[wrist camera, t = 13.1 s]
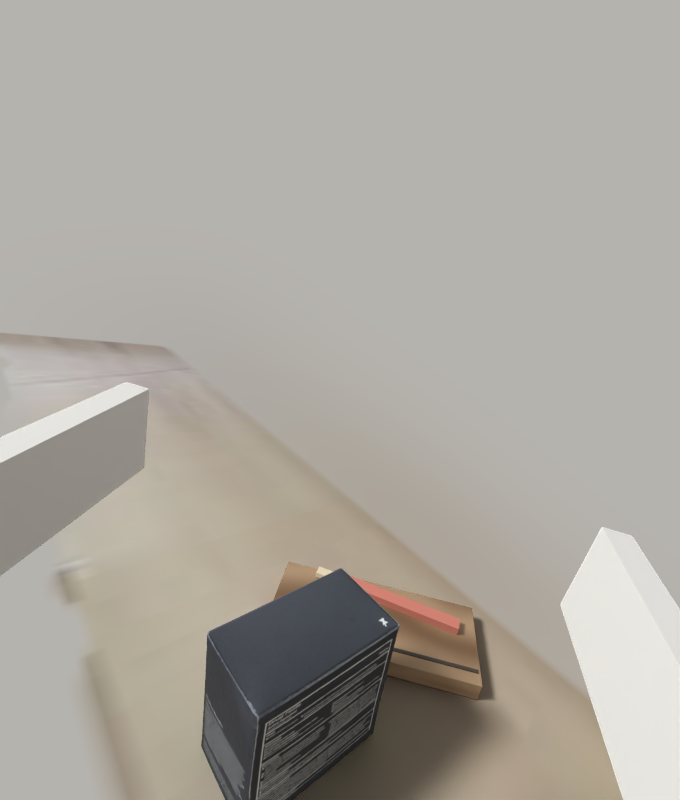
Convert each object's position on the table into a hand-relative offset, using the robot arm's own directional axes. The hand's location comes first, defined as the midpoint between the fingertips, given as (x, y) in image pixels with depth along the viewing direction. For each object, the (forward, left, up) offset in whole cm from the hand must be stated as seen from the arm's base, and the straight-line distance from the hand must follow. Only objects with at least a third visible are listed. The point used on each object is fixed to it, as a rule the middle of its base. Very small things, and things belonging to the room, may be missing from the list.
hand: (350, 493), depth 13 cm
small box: (+9, +1, -26) cm, 28 cm away
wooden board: (+20, -3, -26) cm, 33 cm away
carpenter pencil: (+22, -5, -25) cm, 33 cm away
